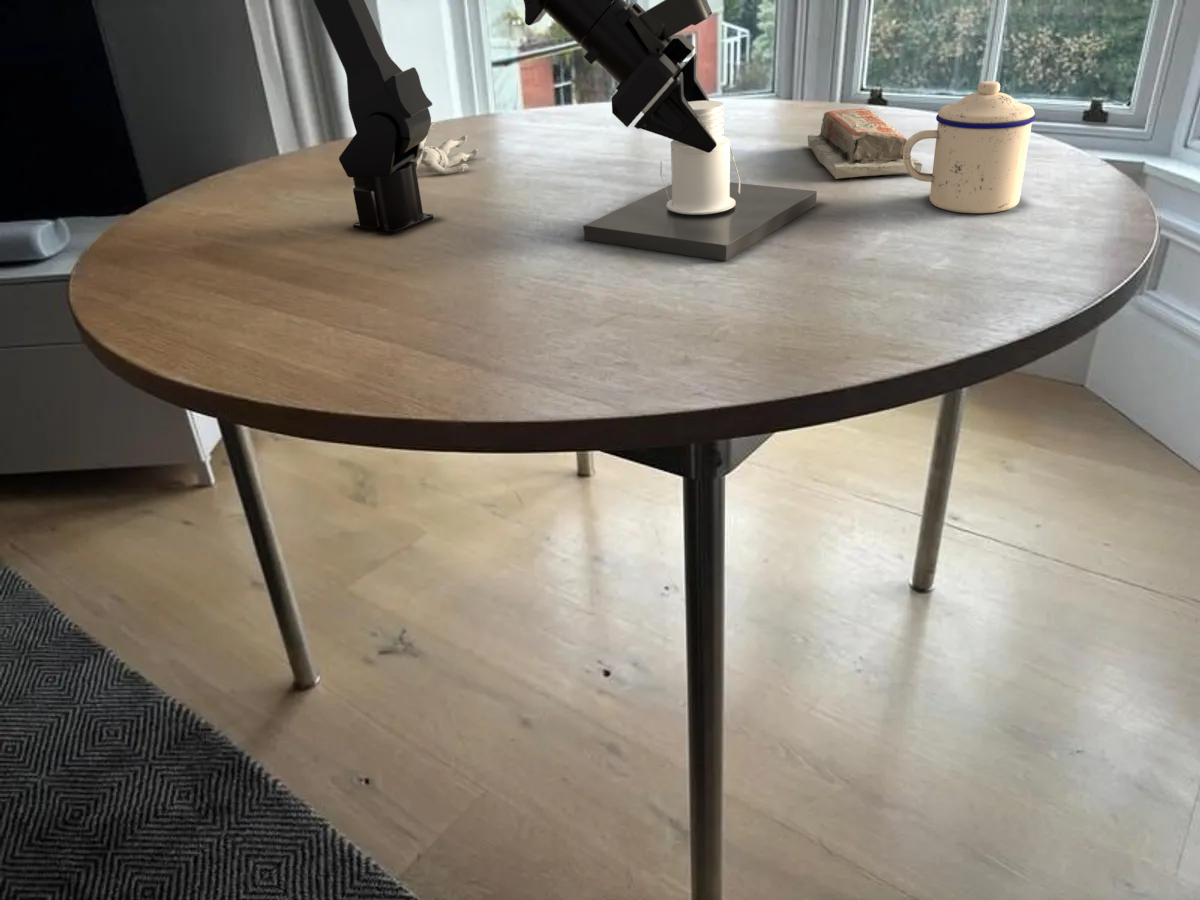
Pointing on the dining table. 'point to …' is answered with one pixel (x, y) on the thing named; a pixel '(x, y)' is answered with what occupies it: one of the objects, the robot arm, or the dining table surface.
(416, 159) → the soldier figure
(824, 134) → the packaged product
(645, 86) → the robot arm
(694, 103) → the downlight
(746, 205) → the slate board
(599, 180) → the dining table surface
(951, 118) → the teacup with lid
